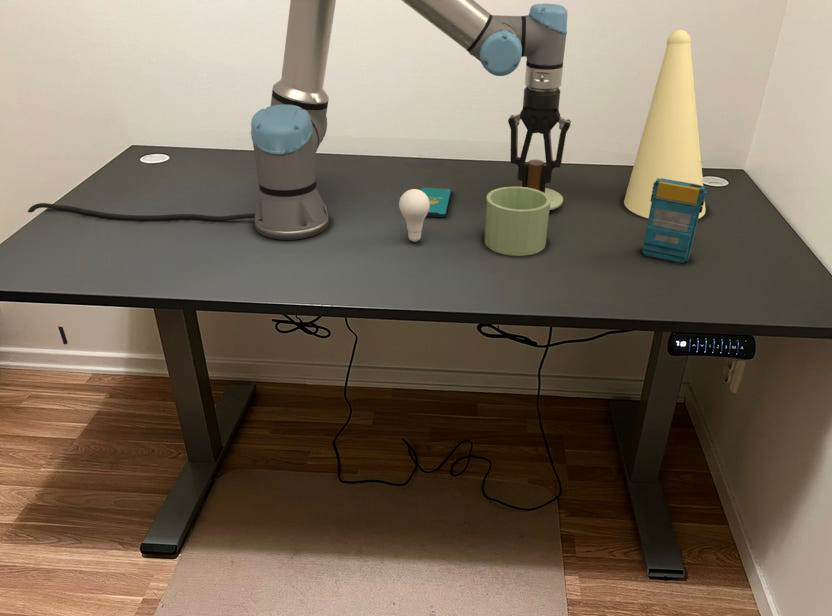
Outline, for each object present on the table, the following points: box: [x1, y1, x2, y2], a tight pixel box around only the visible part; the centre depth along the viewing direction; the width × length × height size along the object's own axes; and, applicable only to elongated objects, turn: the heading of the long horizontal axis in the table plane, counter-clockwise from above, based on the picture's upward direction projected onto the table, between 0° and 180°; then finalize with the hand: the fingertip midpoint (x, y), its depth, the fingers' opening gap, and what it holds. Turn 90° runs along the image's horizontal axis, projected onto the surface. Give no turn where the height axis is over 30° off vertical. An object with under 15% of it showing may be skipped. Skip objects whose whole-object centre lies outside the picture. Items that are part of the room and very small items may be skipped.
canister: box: [483, 186, 551, 257], centre depth 146 cm, size 13×13×10 cm
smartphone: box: [419, 187, 452, 218], centre depth 164 cm, size 7×1×15 cm
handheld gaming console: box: [641, 178, 707, 264], centre depth 140 cm, size 10×4×15 cm, turn 64°
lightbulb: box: [398, 188, 430, 243], centre depth 145 cm, size 6×6×11 cm
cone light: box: [623, 29, 707, 220], centre depth 158 cm, size 25×18×35 cm
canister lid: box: [519, 159, 564, 211], centre depth 161 cm, size 14×14×9 cm
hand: (533, 194), depth 163 cm, fingers closed on canister lid, 4 cm apart
